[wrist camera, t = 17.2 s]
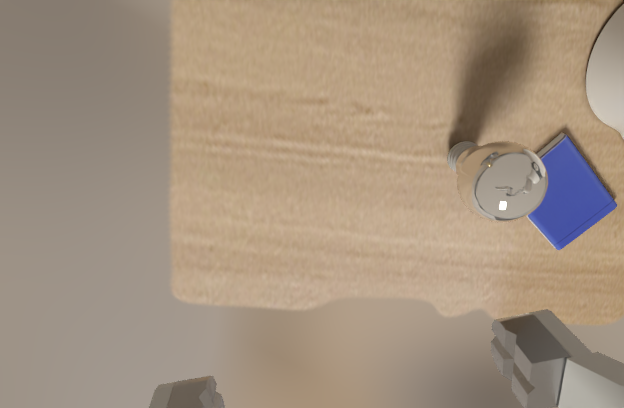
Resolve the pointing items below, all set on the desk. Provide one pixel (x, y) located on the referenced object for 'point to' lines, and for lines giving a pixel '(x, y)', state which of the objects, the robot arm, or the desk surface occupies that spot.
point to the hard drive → (569, 194)
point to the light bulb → (499, 179)
